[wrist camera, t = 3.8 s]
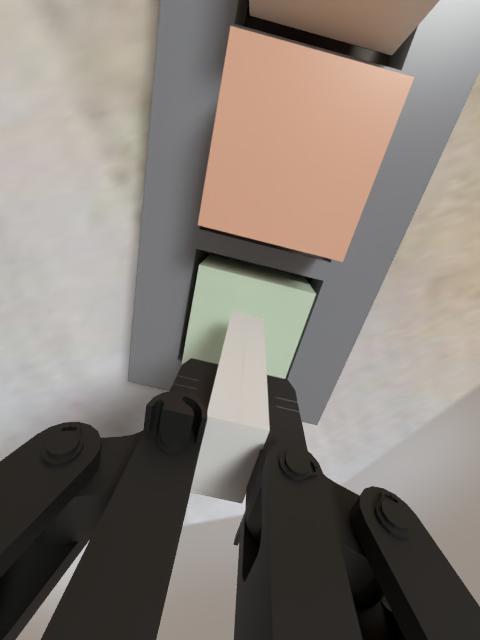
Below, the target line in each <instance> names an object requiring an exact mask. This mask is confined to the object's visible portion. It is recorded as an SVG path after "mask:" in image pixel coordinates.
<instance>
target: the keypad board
mask: <svg viewBox="0 0 480 640" xmlns="http://www.w3.org/2000/svg"><path fill="white" fill-rule="evenodd" d="M248 1H249V0H161V1H160V13H159V24H158V36H157V48H156V59H155V71H154V82H153V94H152V105H151V117H150V129H149V140H148V152H147V163H146V175H145V186H144V198H143V210H142V221H141V233H140V244H139V256H138V267H137V279H136V291H135V302H134V314H133V325H132V337H131V348H130V360H129V372H128V381H130V382H134V383H139V384H143V385H147V386H151V387H156V388H160V389H164V390H169V391H170V389H171V387H172V385H173V382H174V380H175V378H176V376H177V374H178V372H179V370H180V368H181V364H182V359H183V353H184V347H185V342H186V336H187V330H188V325H189V319H190V313H191V308H192V302H193V296H194V291H195V285H196V280H197V274H198V268H199V264H200V263H201V262H202V257H203V251H207V252H211V253H215V254H219V255H223V256H227V257H231V258H235V259H239V260H243V261H247V262H251V263H255V264H259V265H263V266H267V267H271V268H274V269H278V270H282V271H286V272H290V273H294V274H298V275H302V276H306V277H310V278H312V280H311V283H310V286H311V287H312V289H313V290H314V292H315V293H316V296H315V299H314V301H313V304H312V307H311V309H310V312H309V315H308V318H307V320H306V323H305V326H304V329H303V331H302V334H301V337H300V340H299V342H298V345H297V348H296V351H295V353H294V356H293V359H292V361H291V364H290V367H289V370H288V372H287V375H286V378H285V379H287V380H288V381H289V382H290V383H291V385H292V386H293V388H294V389H295V391H296V396H297V403H298V406H299V413H300V416H301V421H302V422H305V423H310V424H314V425H317V424H318V422H319V420H320V418H321V416H322V413H323V411H324V409H325V407H326V405H327V402H328V400H329V398H330V396H331V394H332V392H333V389H334V387H335V385H336V383H337V381H338V379H339V376H340V374H341V372H342V370H343V368H344V366H345V363H346V361H347V359H348V357H349V355H350V352H351V350H352V348H353V346H354V344H355V342H356V339H357V337H358V335H359V333H360V331H361V329H362V326H363V324H364V322H365V320H366V318H367V315H368V313H369V311H370V309H371V307H372V305H373V302H374V300H375V298H376V296H377V294H378V292H379V289H380V287H381V285H382V283H383V281H384V279H385V276H386V274H387V272H388V270H389V268H390V265H391V263H392V261H393V259H394V257H395V255H396V252H397V250H398V248H399V246H400V244H401V242H402V239H403V237H404V235H405V233H406V231H407V229H408V226H409V224H410V222H411V220H412V218H413V215H414V213H415V211H416V209H417V207H418V205H419V202H420V200H421V198H422V196H423V194H424V192H425V189H426V187H427V185H428V183H429V181H430V178H431V176H432V174H433V172H434V170H435V168H436V165H437V163H438V161H439V159H440V157H441V155H442V152H443V150H444V148H445V146H446V144H447V142H448V139H449V137H450V135H451V133H452V131H453V128H454V126H455V124H456V122H457V120H458V118H459V115H460V113H461V111H462V109H463V107H464V105H465V102H466V100H467V98H468V96H469V94H470V91H471V89H472V87H473V85H474V83H475V81H476V78H477V76H478V74H479V72H480V0H440V1H439V2H438V3H437V4H436V5H435V6H434V8H433V9H432V10H431V11H430V12H429V13H428V14H427V16H426V17H425V18H424V19H423V20H422V21H421V23H420V24H419V25H418V26H417V27H416V28H415V29H414V31H413V32H412V33H411V34H410V35H409V36H408V38H407V39H406V40H405V41H404V42H403V43H402V44H401V46H400V47H399V48H398V49H397V50H396V51H395V53H394V54H393V55H390V58H389V61H388V63H387V66H383V65H380V64H376V63H373V62H369V61H366V60H362V59H358V58H355V57H351V56H348V55H344V54H341V53H337V52H333V51H330V50H326V49H323V48H319V47H316V46H312V45H308V44H305V43H301V42H298V41H294V40H291V39H287V38H283V37H280V36H276V35H273V34H269V33H266V32H262V31H258V30H255V29H251V28H248V27H244V23H245V18H246V12H247V7H248ZM230 26H233V27H237V28H240V29H244V30H248V31H251V32H255V33H258V34H262V35H265V36H269V37H273V38H276V39H280V40H283V41H287V42H290V43H294V44H298V45H301V46H305V47H308V48H312V49H315V50H319V51H323V52H326V53H330V54H333V55H337V56H340V57H344V58H348V59H351V60H355V61H358V62H362V63H365V64H369V65H373V66H376V67H380V68H383V69H387V70H391V71H394V72H398V73H401V74H405V75H408V76H412V77H414V80H413V82H412V85H411V87H410V90H409V93H408V95H407V98H406V100H405V103H404V105H403V108H402V111H401V113H400V116H399V118H398V121H397V124H396V126H395V129H394V131H393V134H392V136H391V139H390V142H389V144H388V147H387V149H386V152H385V155H384V157H383V160H382V162H381V165H380V167H379V170H378V173H377V175H376V178H375V180H374V183H373V185H372V188H371V191H370V193H369V196H368V198H367V201H366V204H365V206H364V209H363V211H362V214H361V216H360V219H359V222H358V224H357V227H356V229H355V232H354V235H353V237H352V240H351V242H350V245H349V247H348V250H347V253H346V255H345V258H344V260H343V262H341V261H337V260H333V259H329V258H325V257H321V256H317V255H313V254H309V253H305V252H301V251H297V250H294V249H290V248H286V247H282V246H278V245H274V244H270V243H266V242H262V241H258V240H254V239H250V238H246V237H242V236H239V235H235V234H231V233H227V232H223V231H219V230H215V229H211V228H207V227H203V226H199V225H198V220H199V214H200V208H201V202H202V196H203V190H204V183H205V177H206V171H207V165H208V159H209V153H210V147H211V141H212V135H213V129H214V123H215V117H216V111H217V105H218V99H219V93H220V87H221V81H222V74H223V68H224V62H225V56H226V50H227V44H228V38H229V32H230Z"/></svg>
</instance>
